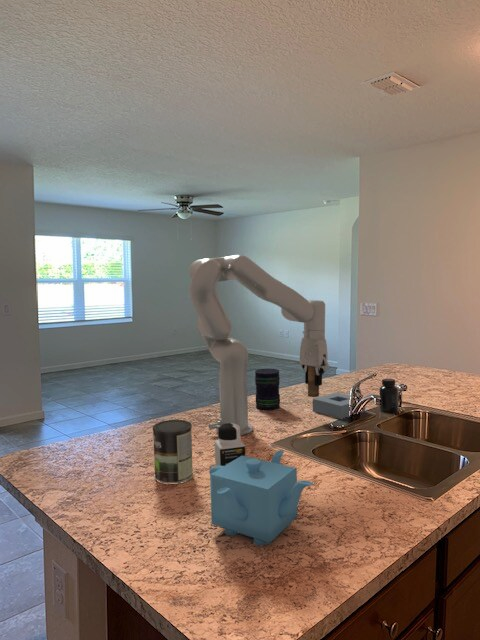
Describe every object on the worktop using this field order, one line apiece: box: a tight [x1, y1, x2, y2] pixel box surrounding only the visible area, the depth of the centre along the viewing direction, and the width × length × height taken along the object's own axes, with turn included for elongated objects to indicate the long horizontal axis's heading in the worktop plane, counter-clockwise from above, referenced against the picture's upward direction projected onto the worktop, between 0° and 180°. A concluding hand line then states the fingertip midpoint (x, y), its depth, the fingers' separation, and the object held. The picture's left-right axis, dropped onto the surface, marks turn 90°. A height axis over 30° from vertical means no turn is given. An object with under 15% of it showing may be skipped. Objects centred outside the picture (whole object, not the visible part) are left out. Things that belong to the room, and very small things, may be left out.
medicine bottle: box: [214, 423, 246, 466], centre depth 131 cm, size 7×7×12 cm
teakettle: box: [209, 449, 314, 547], centre depth 98 cm, size 19×19×15 cm
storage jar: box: [254, 368, 281, 412], centre depth 188 cm, size 10×10×15 cm
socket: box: [312, 392, 366, 420], centre depth 181 cm, size 14×14×5 cm
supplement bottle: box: [379, 378, 399, 413], centre depth 180 cm, size 7×7×12 cm
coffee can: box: [152, 419, 194, 484], centre depth 125 cm, size 10×10×14 cm
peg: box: [307, 366, 320, 398], centre depth 171 cm, size 4×4×12 cm
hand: (313, 383), depth 172 cm, fingers closed on peg, 4 cm apart
